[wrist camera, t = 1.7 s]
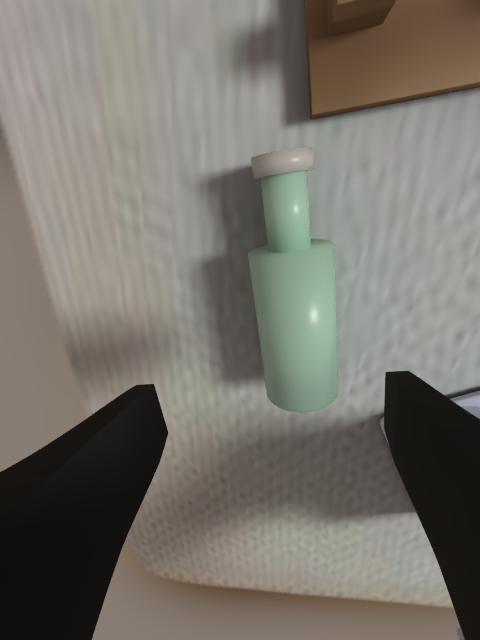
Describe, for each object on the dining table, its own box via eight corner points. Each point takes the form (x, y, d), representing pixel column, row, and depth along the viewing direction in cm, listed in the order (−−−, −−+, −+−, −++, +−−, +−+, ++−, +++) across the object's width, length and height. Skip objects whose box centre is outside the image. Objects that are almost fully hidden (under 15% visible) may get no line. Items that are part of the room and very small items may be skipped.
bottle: (309, 363, 20) (354, 393, 17) (254, 384, 19) (291, 422, 15) (294, 156, 16) (351, 139, 12) (221, 165, 14) (262, 149, 11)
